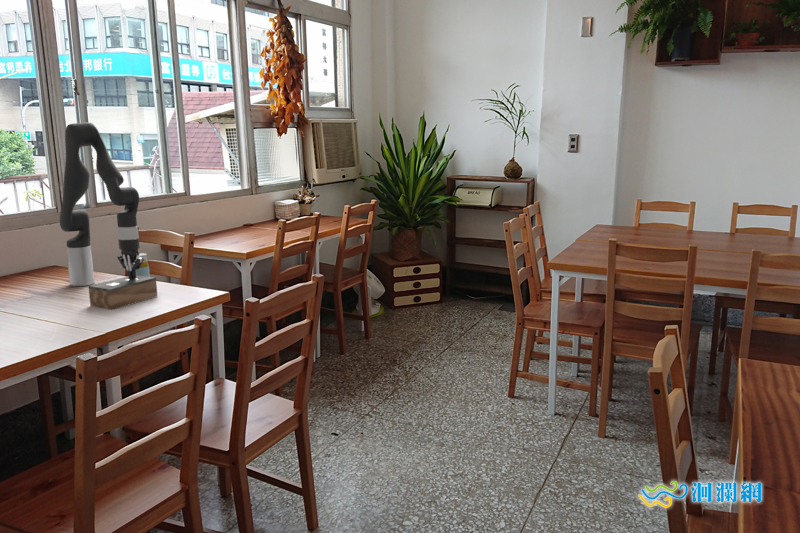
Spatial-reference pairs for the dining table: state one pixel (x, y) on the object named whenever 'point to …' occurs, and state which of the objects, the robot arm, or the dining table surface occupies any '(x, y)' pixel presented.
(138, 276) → the walnut block
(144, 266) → the bottle
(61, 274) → the dining table surface
